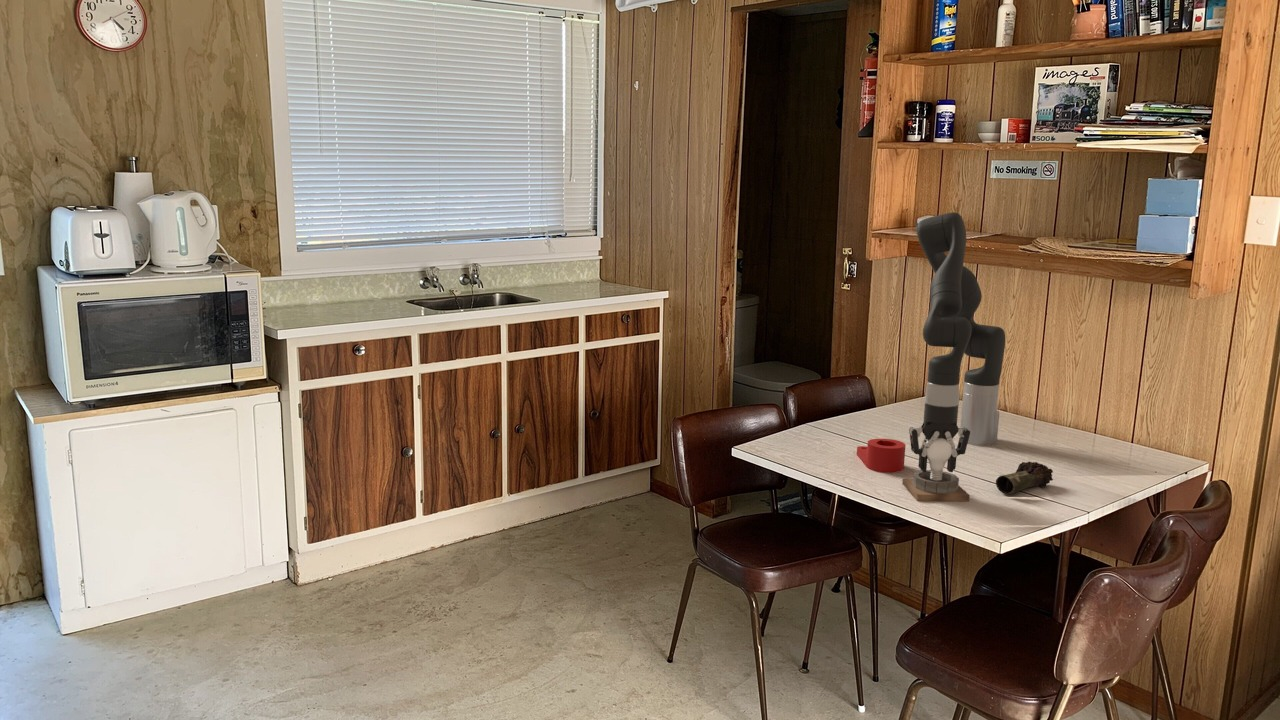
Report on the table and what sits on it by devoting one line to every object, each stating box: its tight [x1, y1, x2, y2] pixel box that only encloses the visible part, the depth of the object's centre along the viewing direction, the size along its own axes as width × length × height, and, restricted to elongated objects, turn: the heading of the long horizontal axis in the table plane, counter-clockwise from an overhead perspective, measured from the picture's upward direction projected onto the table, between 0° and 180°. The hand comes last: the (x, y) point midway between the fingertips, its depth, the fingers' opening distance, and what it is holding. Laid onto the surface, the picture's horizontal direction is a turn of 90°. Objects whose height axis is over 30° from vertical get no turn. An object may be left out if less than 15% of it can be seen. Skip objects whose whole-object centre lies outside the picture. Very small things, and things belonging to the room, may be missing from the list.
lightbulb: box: [924, 438, 952, 482], centre depth 227 cm, size 6×6×11 cm
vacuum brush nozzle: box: [995, 461, 1054, 496], centre depth 231 cm, size 18×7×6 cm, turn 125°
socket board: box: [901, 469, 970, 502], centre depth 228 cm, size 12×12×4 cm
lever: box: [856, 438, 906, 474], centre depth 251 cm, size 18×9×7 cm, turn 15°
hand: (936, 470), depth 228 cm, fingers closed on lightbulb, 5 cm apart
